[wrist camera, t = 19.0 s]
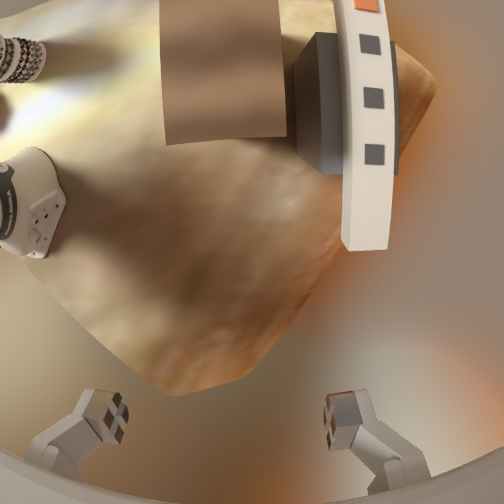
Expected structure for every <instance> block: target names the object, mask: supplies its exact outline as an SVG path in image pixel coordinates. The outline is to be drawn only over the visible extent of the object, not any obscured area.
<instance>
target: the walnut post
mask: <svg viewBox="0 0 504 504" xmlns="http://www.w3.org/2000/svg"><path fill="white" fill-rule="evenodd" d="M160 61H161V82H162V99H163V113H164V125H165V137H166V145H174V144H183V143H192V142H202V141H213V140H225V139H239V138H258V137H287V128H286V106H285V87H284V70H283V55H282V41H281V28H280V16H279V4H278V0H160Z"/></svg>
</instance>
